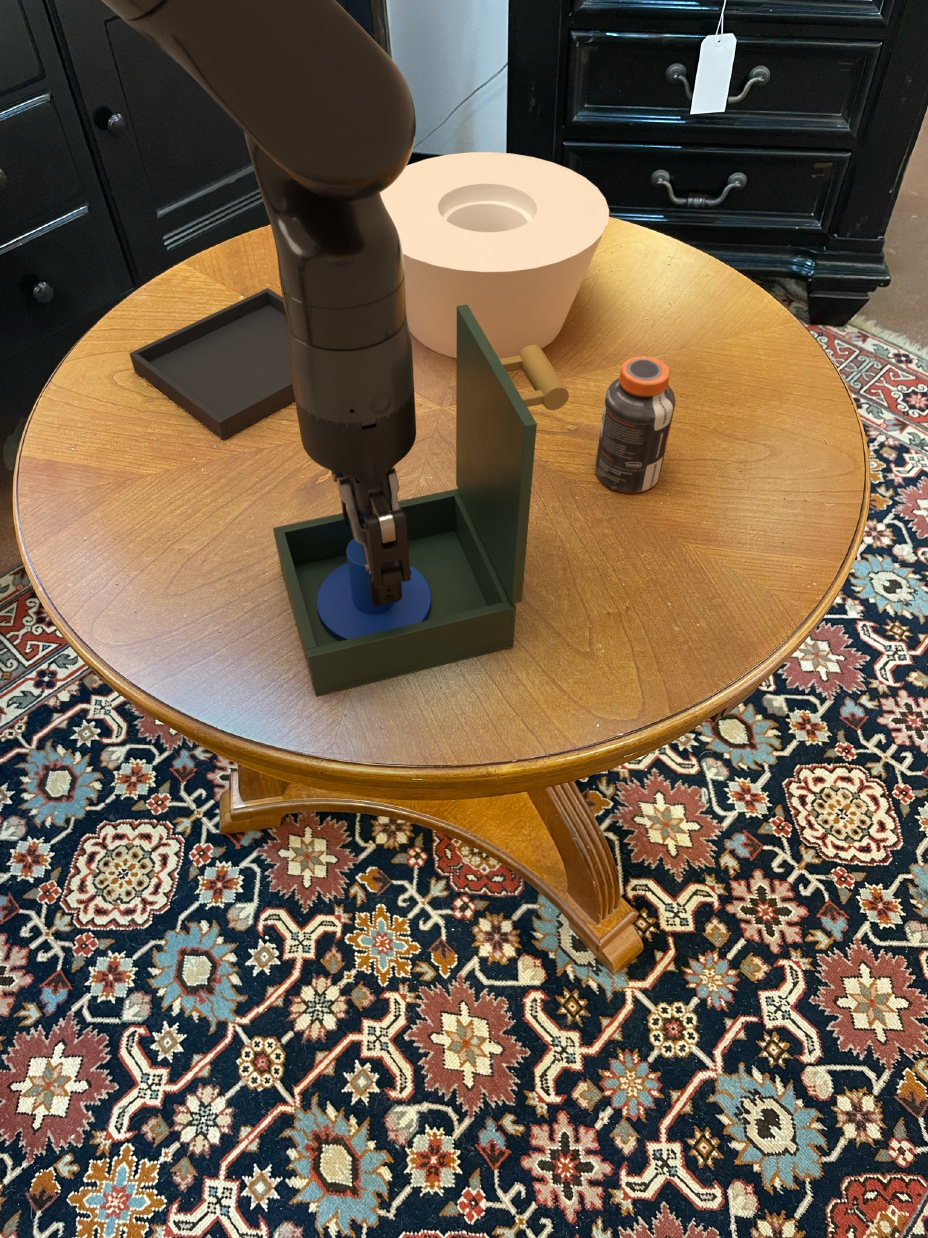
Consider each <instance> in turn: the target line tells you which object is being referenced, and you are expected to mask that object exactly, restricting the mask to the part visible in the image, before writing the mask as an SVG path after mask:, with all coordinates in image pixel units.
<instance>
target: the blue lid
mask: <svg viewBox="0 0 928 1238" xmlns="http://www.w3.org/2000/svg"><path fill="white" fill-rule="evenodd" d="M346 553H347V561H348V563H346V564H344V565H342V566H340V567H338V568H337V569H336V570H334V571H333V572H332V573H331V574H330V575H329V576H327V578H326V579H325V580H324V581H323V583H322V585H321V587H320V589H319V591H318V595H317V611H318V616H319V619H320V621H321V623H322V625H323V627H324V628H325V629H326V631H327V632H328V633H329V634H330V635H331V636H333V637H334V638H335V639H337V640H339V641H344V640H348V639H352V638H356V637H360V636H364V635H369V634H373V633H377V632H381V631H385V630H389V629H394V628H398V627H402V626H406V625H410V624H414V623H419V622H423V621H427V619H428V617H429V614H430V611H431V592H430V588H429V585H428V583H427V581H426V580H425V578H424V577H423V576H422V574H421V573H420V572H419V571H418V570H416V569H415V568H414V567H412V566H411V565H410V570H411V575H410V576H411V580H410V581H406V582H401V584H402V599H401V600H400V601H398V602H394V603H390V604H386V605H382V606H374V605H373V603H372V600H371V597H370V588H369V580H368V571H366V569H365V564H366V562H365V557H364V553H363V548H362V544H359V543H358V542H356V541H355V540H354V539H352V540H351V541H350V543H349V544H348V546H347V550H346Z"/></svg>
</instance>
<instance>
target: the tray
mask: <svg viewBox="0 0 928 1238" xmlns="http://www.w3.org/2000/svg"><path fill="white" fill-rule="evenodd" d="M128 355H129V358H130V360H131V364H132V367H133V371H134V372H135V373H137V375H138V376H140V377H142V378H143V379H144V380H146V381H147V382H148V383H149V384H150V385H152V386H153V387H155V388H156V389H157V390H158V391H160V392H161V393H162V394H163V395H164V396H166V397H167V398H168V399H170V400H171V401H173V402H174V403H175V404H176V405H177V406H179V407H180V408H181V409H183V410H184V411H185V412H186V413H188V415H191V417H193V418H194V419H195V420H197V421H198V422H199V423H200V424H202V426H203V427H206V428H207V429H208V430H209V431H210V432H212V433H213V434H214V435H216V436H217V437H218V438H219V439H221V440H222V441H225V440H227V439H229V438H231V437H232V436H234V435H236V434H238V433H240V432H241V431H243V430H245V429H247V428H249V427H250V426H253V425H254V424H256V423H258V422H259V421H261V420H264V419H265V418H268V417H269V416H271V415H272V414H274V413H275V412H278V411H279V410H281V409H284V408H285V407H287V406H288V405H291V404H292V403H295V397H294V391H293V385H292V379H291V373H290V367H289V361H288V331H287V322H286V316H285V310H284V304H283V298H282V295H280V294H278V293H277V292H275V291H273V290H272V289H270V288H269V287H267V288H264V289H263V290H260V291H258V292H256V293H254V294H251V295H250V296H247V297H245V298H243V299H241V300H238V301H236V302H234V303H233V304H231V305H228V306H227V307H224V308H221V309H220V310H218V311H215V312H213V313H212V314H209V315H207V316H205V317H203V318H201V319H199V320H196V321H195V322H192V323H190V324H188V325H186V326H184V327H181V328H180V329H177V330H175V331H173V332H171V333H169V334H167V335H165V336H163V337H161V338H158V339H156V340H155V341H152V342H150V343H148V344H146V345H143V346H141V347H140V348H137V349H135V350H132V351H131V352H129V353H128Z"/></svg>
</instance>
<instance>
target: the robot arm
mask: <svg viewBox="0 0 928 1238" xmlns="http://www.w3.org/2000/svg"><path fill="white" fill-rule="evenodd" d="M100 1H101V2H102V4H104V5H105V6H107V7H108V8H109V9H110V10H111V11H112V12H113V13H115V14H116V15H117V17H119V18H121V19H122V21H124V23H126V24H127V25H128V26H129V27H131V28H132V29H133V30H134V31H136V32H137V34H139V35H140V36H142V37H143V38H144V39H146V40H147V41H148V42H150V43H151V44H152V45H154V47H156V48H158V49H159V50H160V51H161V52H162V53H163V54H165V55H166V56H167V57H169V58H170V59H172V60H173V61H174V62H175V63H176V64H177V65H178V66H179V67H181V68H182V69H183V70H184V71H185V72H186V73H187V74H188V75H189V76H191V78H193V80H195V82H196V83H197V84H198V85H199V86H200V87H201V88H202V89H203V90H204V91H205V93H206V94H207V95H208V96H209V97H210V98H211V99H212V100H213V101H214V102H215V103H216V104H217V105H218V107H220V108H221V109H222V110H223V111H224V113H225V114H226V115H227V116H228V117H229V118H230V119H231V120H232V121H233V122H234V123H235V124H236V125H237V126H238V127H239V128H240V129H241V130H242V131H243V134H244V138H245V142H246V146H247V149H248V150H247V151H248V153H249V157H250V160H251V164H252V167H253V172H254V175H255V178H256V182H257V185H258V188H259V193H260V195H261V198H262V202H263V205H264V207H265V211H266V214H267V217H268V220H269V224H270V228H271V231H272V235H273V241H274V245H275V249H276V250H275V251H276V256H277V268H278V278H279V285H280V290H281V297H282V298H283V304H284V310H285V316H286V322H287V331H288V361H289V367H290V373H291V379H292V385H293V391H294V397H295V401H294V403H295V409H296V416H297V423H298V427H299V434H300V440H301V444H302V447H303V449H304V451H305V453H306V454H307V456H308V457H309V458H310V459H311V460H312V461H313V462H315V463H316V464H317V465H319V466H320V467H322V468H324V469H326V470H328V471H330V473H331V478H332V481H333V483H336V484H337V489H338V493H339V498H340V503H341V510H342V513H343V518H344V521H345V524H346V525H347V526H350V527H351V532H352V536H353V539H354V540H355V541H356V542H358V543H359V544H362V548H363V553H364V557H365V562H366V564H365V569H366V571H368V580H369V588H370V597H371V600H372V603H373V605H374V606H382V605H386V604H390V603H394V602H398V601H400V600H401V599H402V584H401V582H406V581H410V580H411V576H410V575H411V570H410V564H409V552H408V539H407V527H406V521H407V517H406V514H404V512H403V510H402V509H400V507H399V502H398V501H399V498H398V493H399V491H400V485H399V479H398V474H397V470H396V468H395V466H396V465H397V464H398V463H399V462H400V461H401V460H403V459H404V458H405V457H406V456H407V455H408V454H409V453H410V451H411V450H412V449H413V446H414V444H415V442H416V439H417V420H416V419H417V417H416V415H417V414H416V395H415V394H416V393H415V376H414V356H413V355H414V354H413V343H412V338H411V332H410V331H409V328H408V322H407V314H406V296H405V276H404V260H403V252H402V245H401V241H400V238H399V234H398V231H397V229H396V226H395V224H394V222H393V220H392V218H391V217H390V215H389V213H388V211H387V209H386V207H385V205H384V203H383V201H382V198H381V195H380V192H382V191H384V190H385V189H387V188H388V187H389V186H390V185H391V184H393V183H394V182H395V181H396V180H397V178H398V177H399V176H400V175H401V173H402V172H403V170H404V169H405V167H406V166H407V165H408V163H409V161H410V159H411V156H412V153H413V151H414V147H415V146H414V145H415V142H416V141H415V140H416V133H417V132H416V131H417V119H416V109H415V104H414V100H413V97H412V93H411V90H410V88H409V85H408V83H407V80H406V78H405V77H404V74H403V73H402V72H401V70H400V68H399V67H398V65H397V64H396V62H395V61H394V60H393V59H392V58H391V56H390V55H388V53H387V52H386V51H385V50H384V49H383V47H382V46H380V44H378V43H377V41H375V39H373V37H371V35H370V34H369V33H368V32H367V31H366V30H365V29H364V28H363V27H362V26H361V25H360V24H359V23H358V22H357V20H355V19H354V17H352V15H351V14H349V13H348V12H347V11H346V10H345V8H344V7H343V6H341V4H340V3H339V2H338V1H336V0H100ZM389 508H390V509H389ZM359 524H364V528H365V529H361V527H360V525H359Z"/></svg>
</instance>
